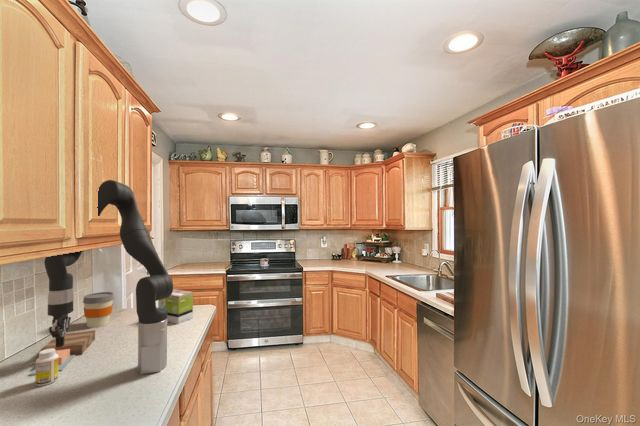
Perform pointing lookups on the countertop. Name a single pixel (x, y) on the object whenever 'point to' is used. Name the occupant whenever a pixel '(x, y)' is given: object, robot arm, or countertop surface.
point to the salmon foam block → (62, 355)
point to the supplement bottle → (46, 367)
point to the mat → (60, 367)
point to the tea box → (178, 306)
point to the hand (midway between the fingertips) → (60, 346)
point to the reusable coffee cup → (98, 308)
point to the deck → (73, 342)
